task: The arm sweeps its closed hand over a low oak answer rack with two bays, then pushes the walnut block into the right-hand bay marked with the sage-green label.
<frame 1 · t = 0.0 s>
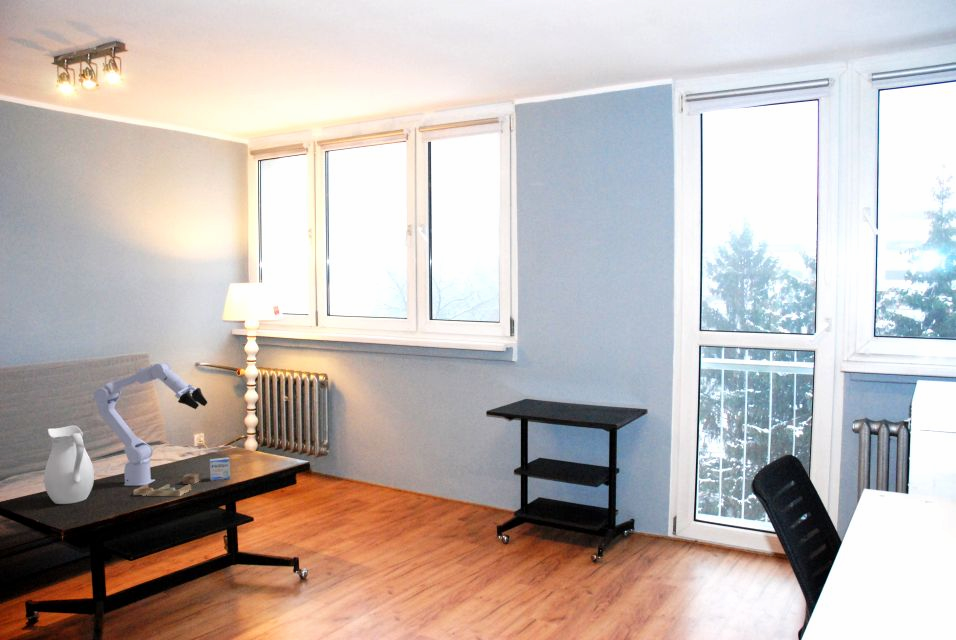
hand: (201, 405, 309), 32 cm above the table, tool tilted 50°, fingers open, 7 cm apart
answer rack: (162, 492, 298), on the table
medicine box: (220, 479, 317), on the table
pitcher: (73, 502, 288), on the table
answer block: (191, 483, 312), on the table
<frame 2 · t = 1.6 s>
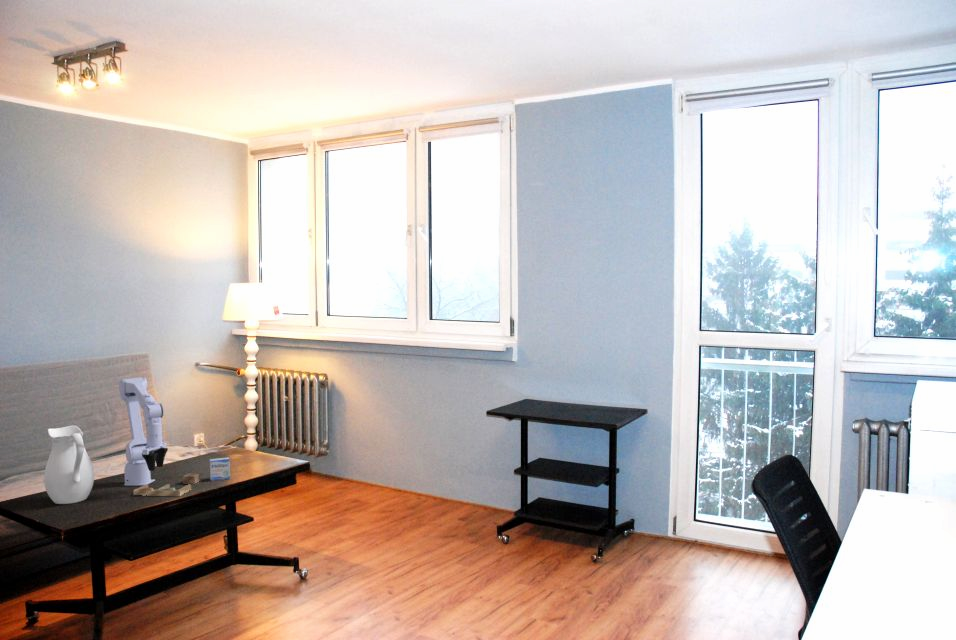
hand: (155, 468, 299), 9 cm above the table, tool pointing down, fingers open, 5 cm apart
nothing on the table moved.
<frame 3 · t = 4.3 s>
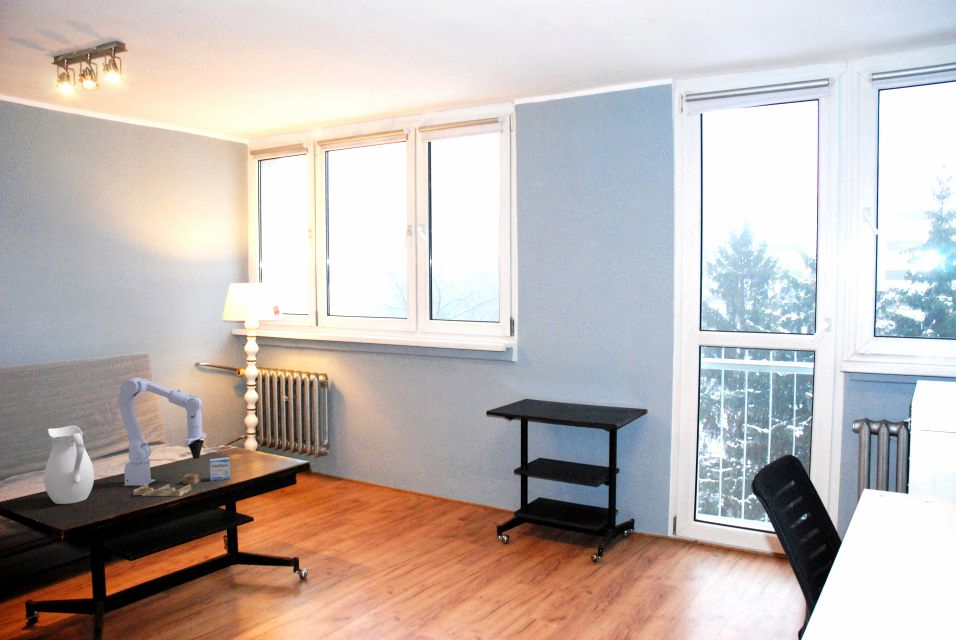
hand: (196, 458, 315), 9 cm above the table, tool pointing down, fingers closed
nothing on the table moved.
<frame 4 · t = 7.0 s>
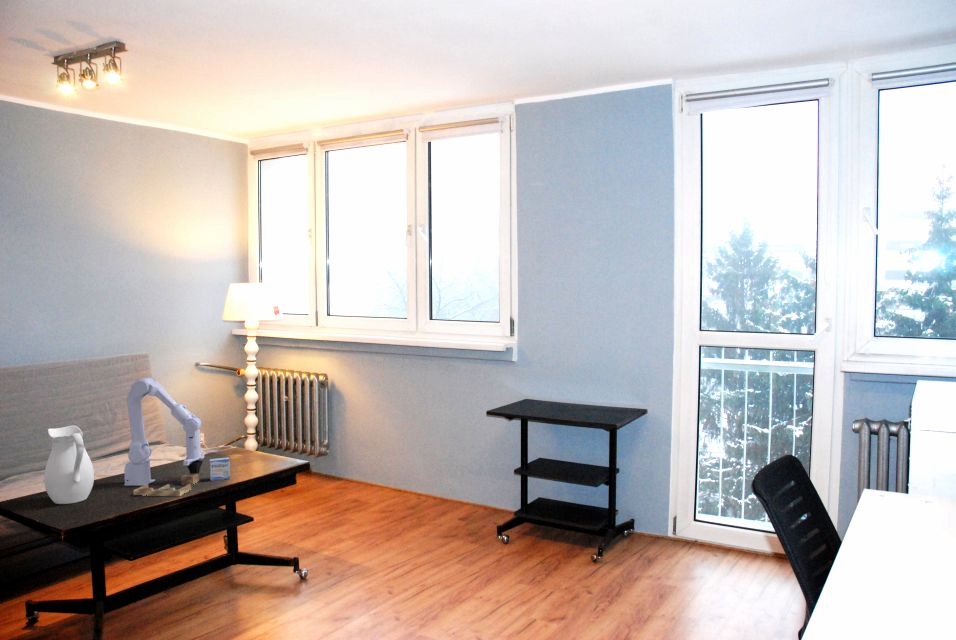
hand: (194, 478, 315), 1 cm above the table, tool pointing down, fingers closed
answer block: (190, 483, 311), on the table, touching gripper
everything else where it was.
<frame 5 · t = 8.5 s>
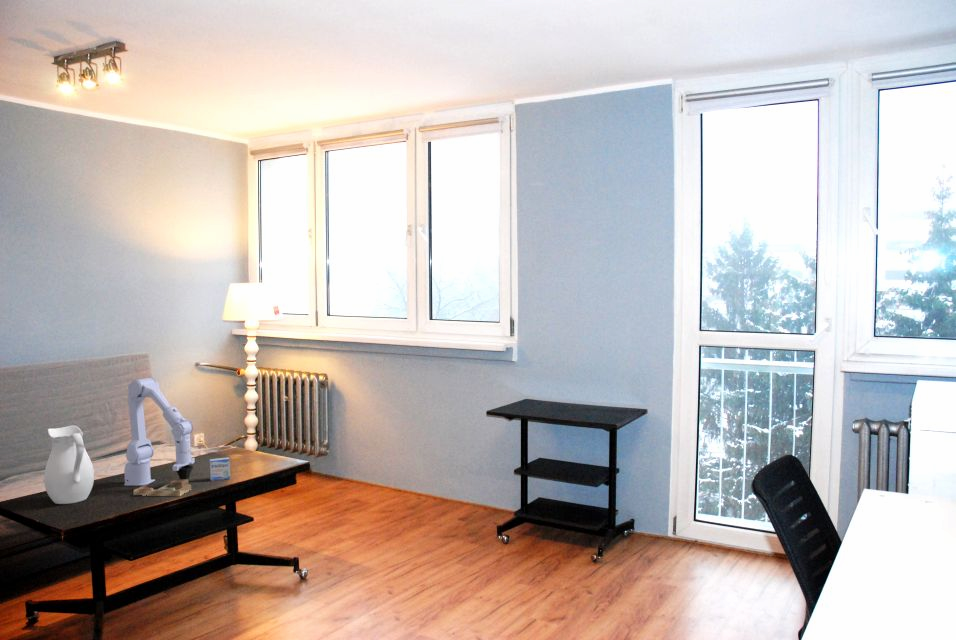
hand: (184, 484, 306), 1 cm above the table, tool pointing down, fingers closed
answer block: (179, 489, 302), on the table, touching gripper
everything else where it was.
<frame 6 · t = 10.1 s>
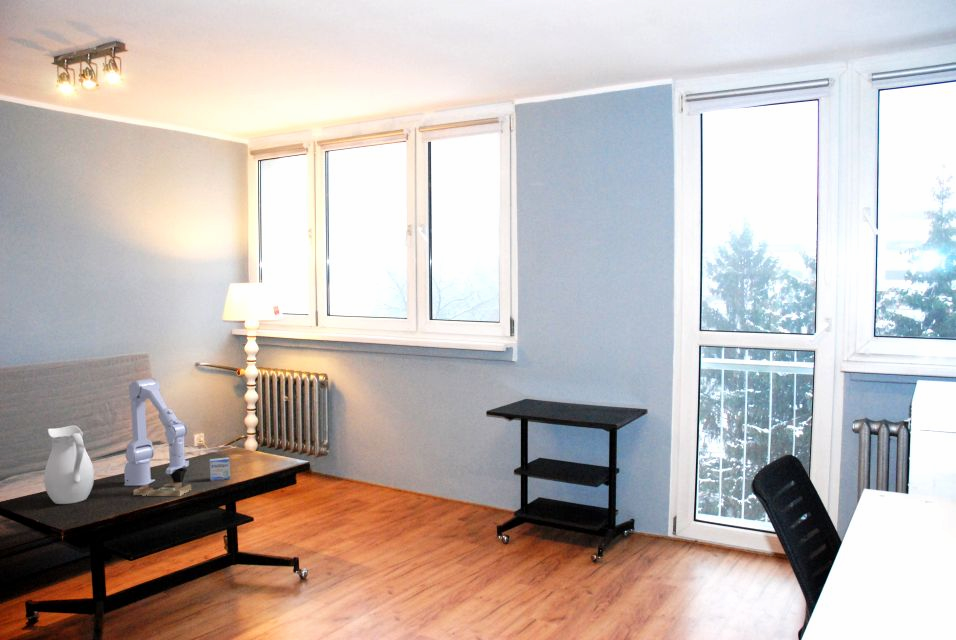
hand: (178, 487, 301), 1 cm above the table, tool pointing down, fingers closed
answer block: (172, 492, 297), on the table, touching gripper
everything else where it was.
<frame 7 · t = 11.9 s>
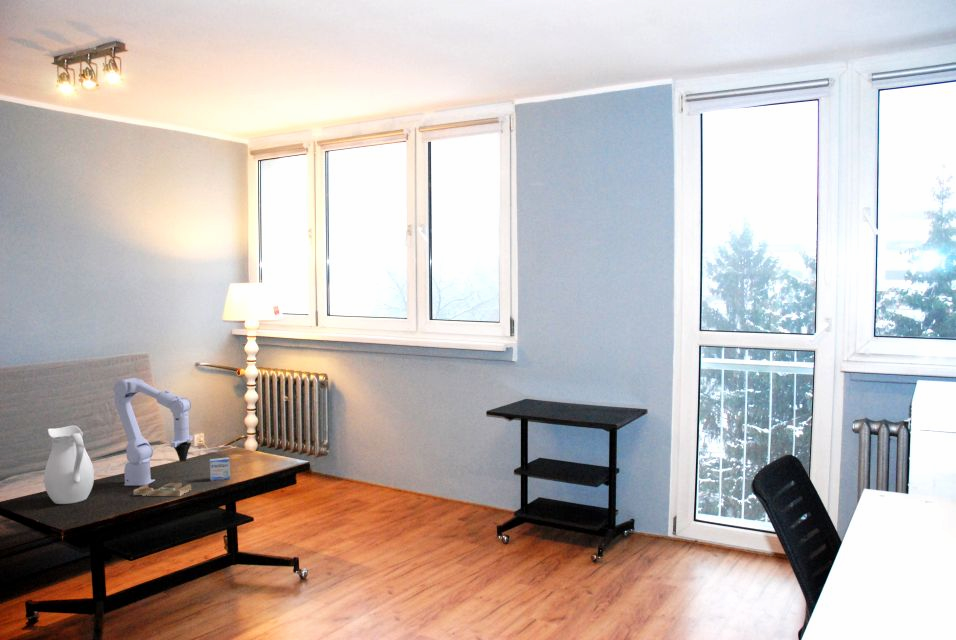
hand: (182, 461, 309), 10 cm above the table, tool pointing down, fingers closed
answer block: (173, 493, 297), on the table
everything else where it was.
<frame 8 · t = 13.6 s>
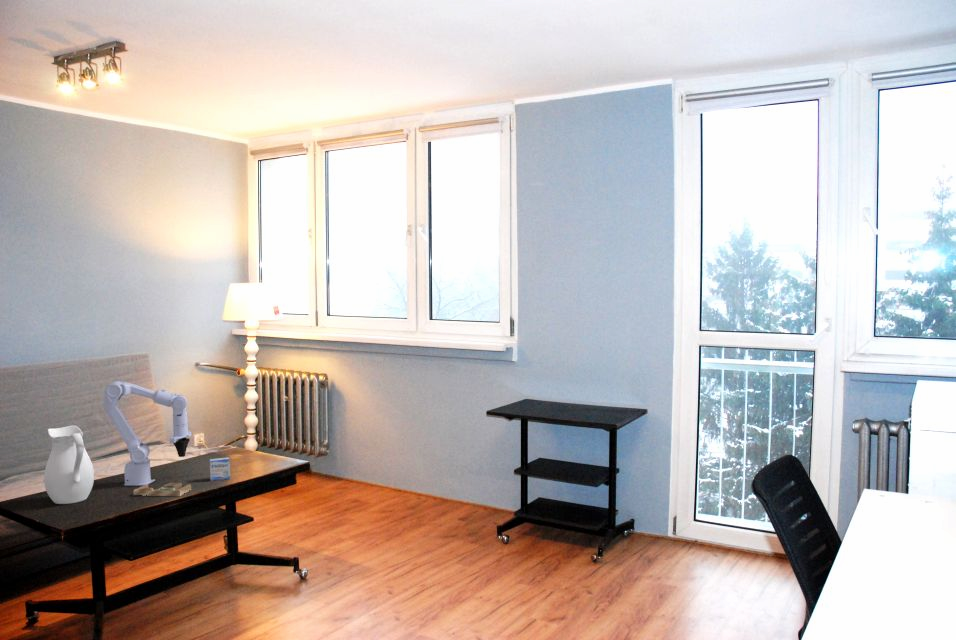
hand: (181, 456, 317), 10 cm above the table, tool pointing down, fingers closed
nothing on the table moved.
at the end: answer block inside the target area (0.7 cm from its centre), on the table; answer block tilted 0° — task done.
